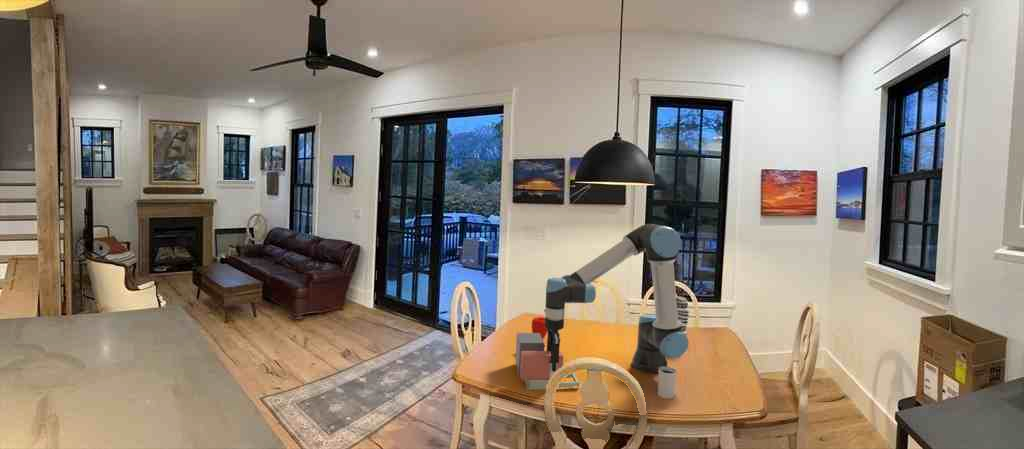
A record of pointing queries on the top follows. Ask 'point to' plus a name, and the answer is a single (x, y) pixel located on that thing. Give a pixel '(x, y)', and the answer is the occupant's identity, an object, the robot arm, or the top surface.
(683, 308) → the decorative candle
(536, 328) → the apple
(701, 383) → the top surface
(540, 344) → the dispenser
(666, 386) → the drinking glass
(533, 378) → the pink rectangular box
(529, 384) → the tray
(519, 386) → the top surface
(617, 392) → the top surface
